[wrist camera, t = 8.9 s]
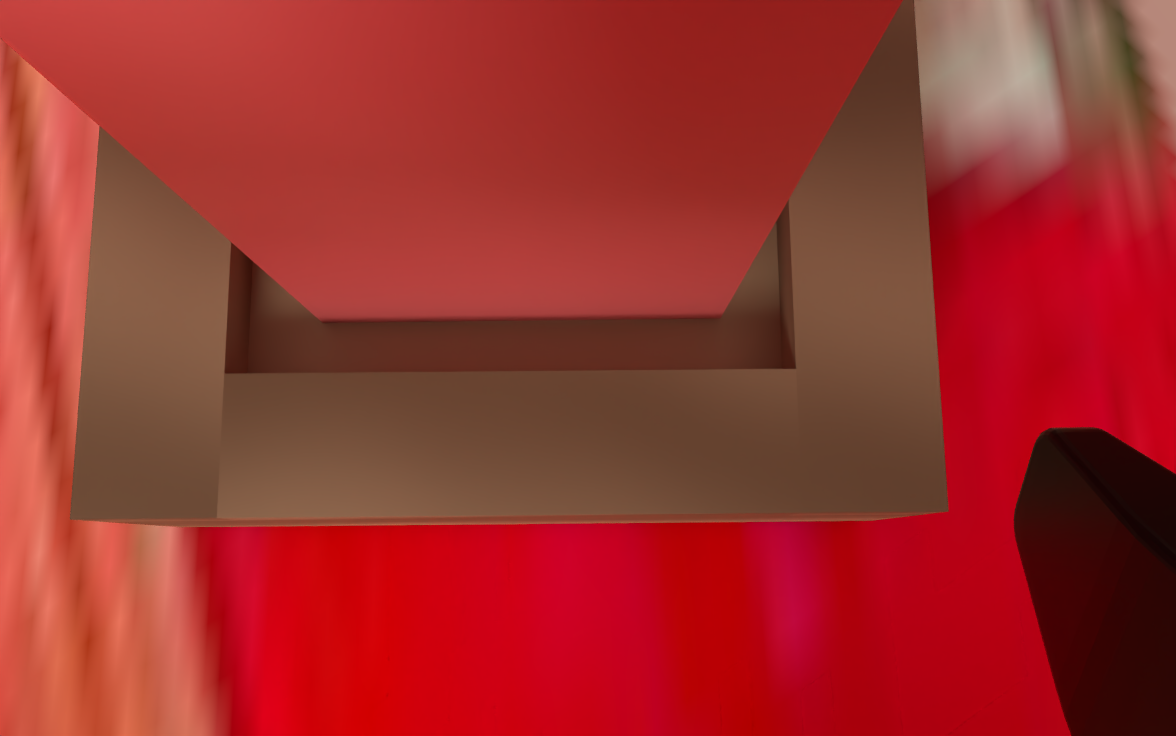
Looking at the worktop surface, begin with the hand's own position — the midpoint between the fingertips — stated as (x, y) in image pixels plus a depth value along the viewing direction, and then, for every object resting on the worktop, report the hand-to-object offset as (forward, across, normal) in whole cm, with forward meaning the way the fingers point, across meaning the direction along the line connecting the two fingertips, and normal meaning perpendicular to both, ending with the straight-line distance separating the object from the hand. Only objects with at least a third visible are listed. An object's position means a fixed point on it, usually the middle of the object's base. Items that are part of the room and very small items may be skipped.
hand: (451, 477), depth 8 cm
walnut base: (+12, 0, +3) cm, 12 cm away
